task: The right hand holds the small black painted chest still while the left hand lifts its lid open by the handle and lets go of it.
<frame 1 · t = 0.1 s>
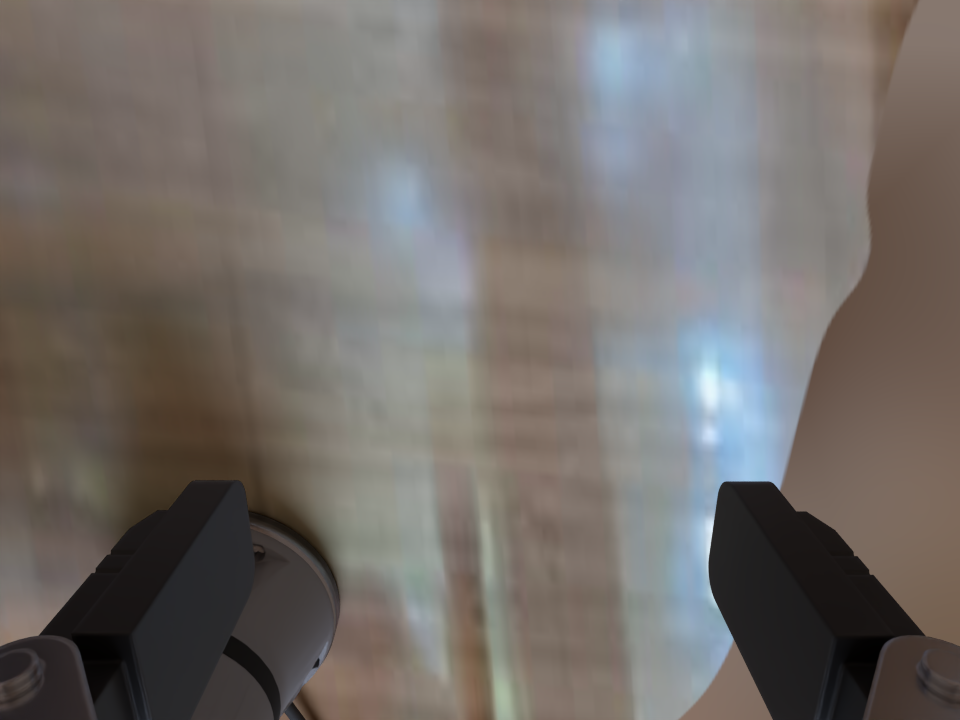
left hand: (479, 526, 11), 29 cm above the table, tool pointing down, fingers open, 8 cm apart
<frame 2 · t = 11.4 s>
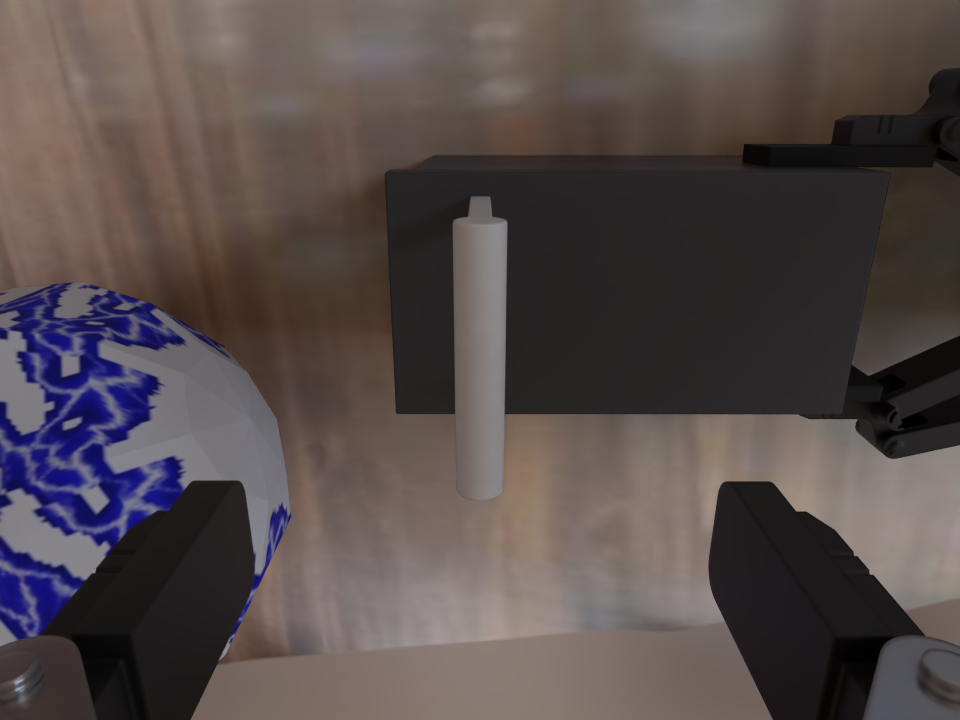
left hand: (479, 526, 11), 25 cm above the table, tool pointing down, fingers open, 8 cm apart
ornament: (154, 417, 38), on the table
lid: (647, 326, 22), point 14 cm above the table, hinge at 0.0°
chest: (595, 248, 35), on the table, touching right hand
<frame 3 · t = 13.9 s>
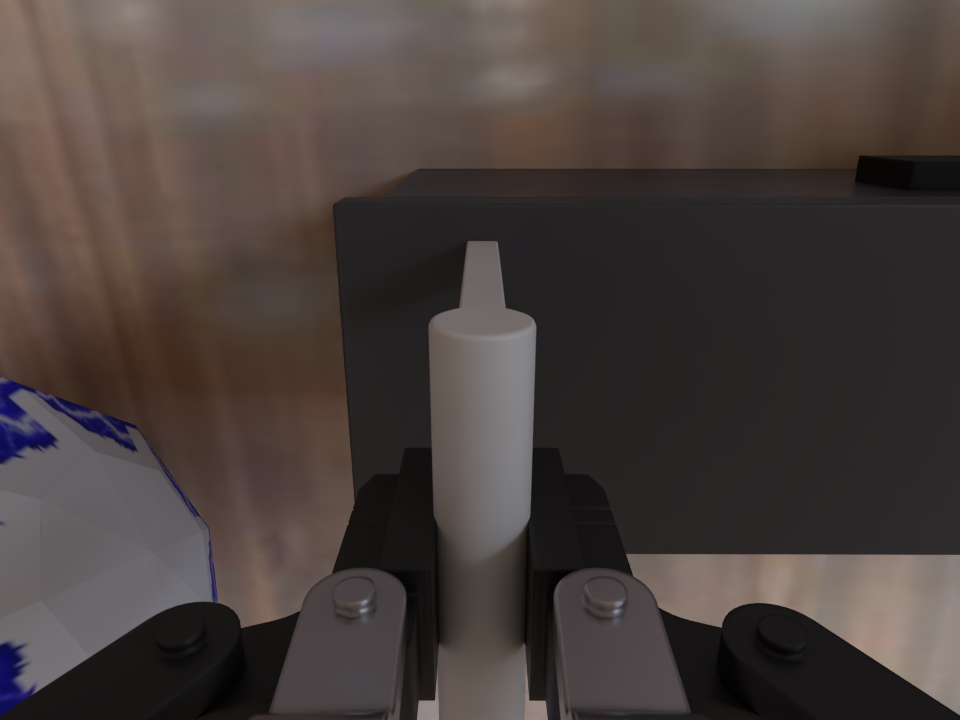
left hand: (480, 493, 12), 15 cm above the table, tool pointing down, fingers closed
ornament: (61, 503, 30), on the table
lid: (754, 457, 14), point 14 cm above the table, hinge at -0.1°, touching left hand
chest: (634, 291, 26), on the table, touching right hand
when the right hand's fingers open (6 cm above the table, at t = 22.3 s): chest stays where it is, on the table.
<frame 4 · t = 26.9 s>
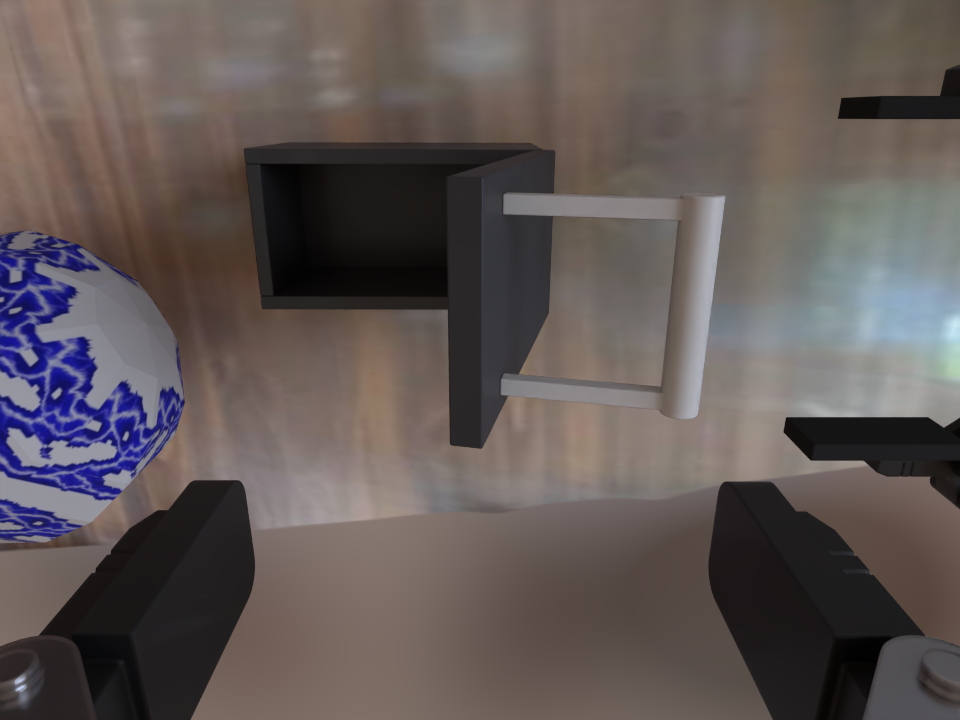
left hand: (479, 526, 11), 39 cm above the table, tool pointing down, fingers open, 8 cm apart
ornament: (94, 340, 51), on the table
lid: (596, 271, 30), point 19 cm above the table, hinge at 76.9°
chest: (411, 211, 48), on the table
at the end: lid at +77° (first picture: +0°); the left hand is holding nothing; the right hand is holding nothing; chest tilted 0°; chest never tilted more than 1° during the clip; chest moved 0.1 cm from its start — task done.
